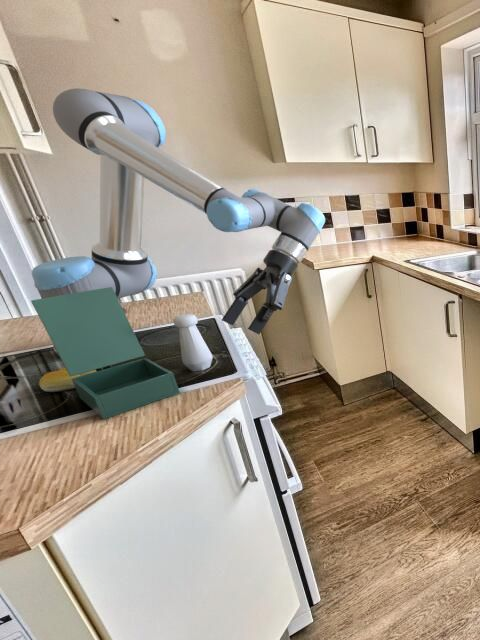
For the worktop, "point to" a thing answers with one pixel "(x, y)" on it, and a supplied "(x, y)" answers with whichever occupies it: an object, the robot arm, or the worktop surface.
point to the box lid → (88, 329)
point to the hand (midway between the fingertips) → (239, 327)
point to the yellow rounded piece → (59, 380)
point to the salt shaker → (192, 343)
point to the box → (125, 387)
